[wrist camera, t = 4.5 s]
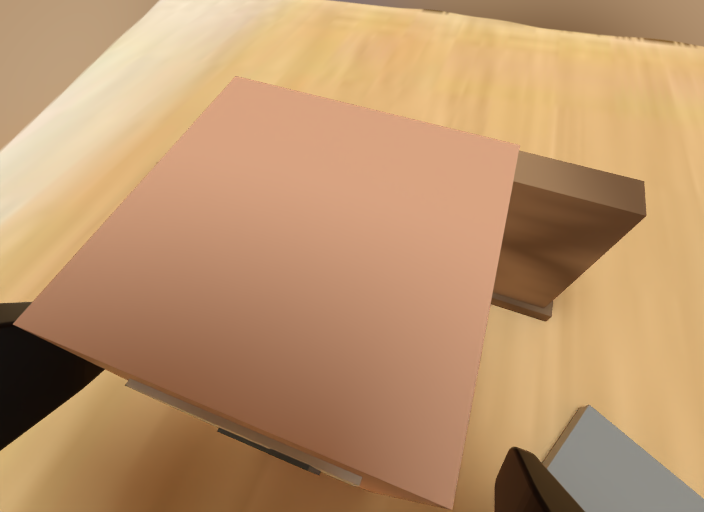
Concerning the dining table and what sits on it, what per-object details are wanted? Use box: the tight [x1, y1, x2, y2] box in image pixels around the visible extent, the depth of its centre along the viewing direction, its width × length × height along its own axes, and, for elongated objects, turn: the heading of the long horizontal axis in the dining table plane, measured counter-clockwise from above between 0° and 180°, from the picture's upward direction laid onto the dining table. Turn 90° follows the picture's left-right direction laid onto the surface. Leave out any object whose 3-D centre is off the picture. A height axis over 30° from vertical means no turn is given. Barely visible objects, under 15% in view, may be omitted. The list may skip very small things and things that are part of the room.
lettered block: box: [13, 76, 520, 510], centre depth 11 cm, size 5×5×14 cm
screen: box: [491, 151, 646, 321], centre depth 17 cm, size 17×2×8 cm, turn 70°
